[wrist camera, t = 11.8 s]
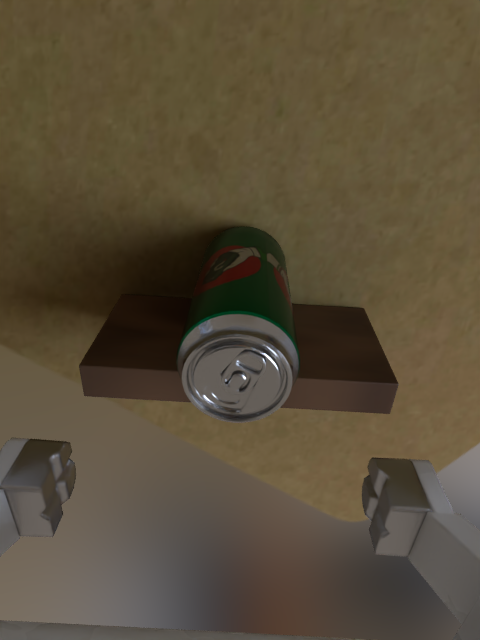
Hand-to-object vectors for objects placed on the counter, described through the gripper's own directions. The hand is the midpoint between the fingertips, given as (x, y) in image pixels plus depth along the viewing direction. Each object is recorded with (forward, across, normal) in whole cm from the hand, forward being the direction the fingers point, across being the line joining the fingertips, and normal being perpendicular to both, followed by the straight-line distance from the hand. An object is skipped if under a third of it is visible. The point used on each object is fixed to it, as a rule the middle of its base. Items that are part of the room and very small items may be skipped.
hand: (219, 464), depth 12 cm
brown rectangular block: (+17, 0, +6) cm, 18 cm away
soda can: (+17, 0, +1) cm, 17 cm away
